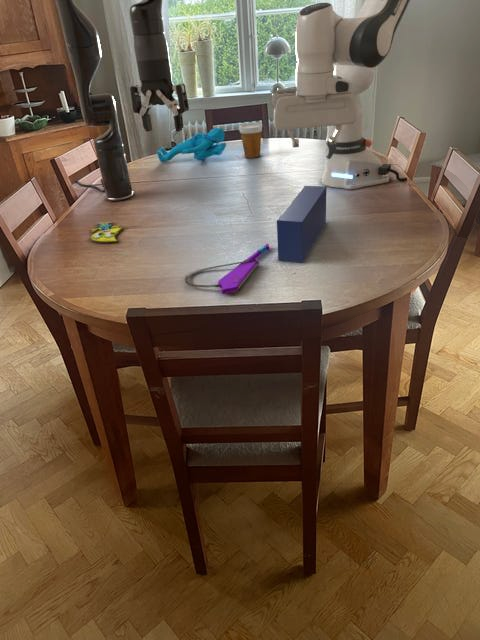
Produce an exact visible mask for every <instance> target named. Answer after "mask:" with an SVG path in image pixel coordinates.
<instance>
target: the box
mask: <svg viewBox="0 0 480 640" xmlns="http://www.w3.org/2000/svg"><path fill="white" fill-rule="evenodd" d="M327 188H328V186H326V185H324V186H323V185H320V186H319V185H304V186H303V187H302V189H300V191H299V192H298V193H297V194H296V196H295V197H294V198H293V200H292V201H290V203H289V205H287V207H286V208H285V209H284V211H282V213H281V214H280V215H279V217H278V218H277V219H276V234H277V235H276V236H277V259H278V260H277V261H278V262H288V263H298V264H299V263H300V264H303V263H304V261H305V259H306V257H307V256H308V254H309V252H310V251H311V249H312V248H313V246H314V244H315V242H316V240H317V239H318V238H319V235H320V234H321V232H322V230H323V228H324V227H325V225H326V224H327Z"/></svg>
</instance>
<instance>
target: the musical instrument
mask: <svg viewBox="0 0 480 640" xmlns="http://www.w3.org/2000/svg"><path fill="white" fill-rule="evenodd" d="M269 250H270V244H269V243H266V244H265V245H263V246H261V247H260V248H259V249H257V250H256V252H254V253H253V254H251V255H250V256H248V258H246V259H244V260H243V261H237V262H231V263H225V264H221V265H216V266H210V267H205V268H201V269H199V270H197V271H194V272H192V273H190V274H189V275H186V276H185V278H184V282H185V284H187V285H189V286H191V287H195V288H214V287H215V288H220V291H221V294H222V295H225V294H231V293H235V292H238V291H239V289H240V287H242V285H243V284H244V282H245V281H246V280H247V278H248V277H250V275H251V274H252V272H253V271H254V270H255V269H256V267H257V266H258V265H259V264H260V261H259V260H258V259H257V258H258V257H260V256H261V255H263V254H264V253H265V252H266V251H269ZM234 265H237V266H235V267H234V268H233V269H231V270H230V271H228V273H226V275H224V276H223V277H221V278H220V279H219V280H218V281H217V284H195V283H191V282H190V281H189V278H190V277H192V276H194V275H195V274H198V273H200V272H203V271H206V270H211V269H216V268H221V267H222V268H223V267H226V266H227V267H228V266H234Z"/></svg>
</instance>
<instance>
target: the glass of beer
mask: <svg viewBox="0 0 480 640" xmlns="http://www.w3.org/2000/svg"><path fill="white" fill-rule="evenodd" d="M262 131H263V126H262V124H261V123H245V124H241V125H240V126H239V133H240V137H241V142H242V147H243V152H244V157H245V158H248V159H249V158H251V159H252V158H253V159H254V158H258V157H260V156H261V144H262Z"/></svg>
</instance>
